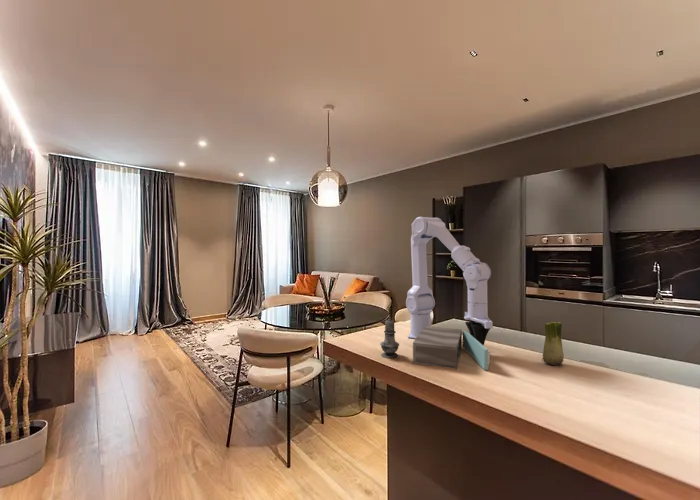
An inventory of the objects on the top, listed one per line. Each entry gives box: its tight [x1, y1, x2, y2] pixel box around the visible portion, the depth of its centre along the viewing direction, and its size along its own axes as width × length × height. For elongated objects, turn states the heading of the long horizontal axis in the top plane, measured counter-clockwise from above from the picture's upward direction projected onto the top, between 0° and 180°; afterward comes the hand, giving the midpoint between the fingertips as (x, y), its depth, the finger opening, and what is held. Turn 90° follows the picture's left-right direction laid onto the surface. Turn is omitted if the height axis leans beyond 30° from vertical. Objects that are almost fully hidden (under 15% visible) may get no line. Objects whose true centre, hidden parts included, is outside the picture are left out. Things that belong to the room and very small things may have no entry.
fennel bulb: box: [542, 321, 565, 366], centre depth 92 cm, size 6×5×12 cm
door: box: [462, 329, 491, 371], centre depth 98 cm, size 20×2×5 cm, turn 177°
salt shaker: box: [379, 316, 400, 360], centre depth 100 cm, size 6×6×12 cm
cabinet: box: [412, 326, 463, 370], centre depth 101 cm, size 20×12×6 cm, turn 157°
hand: (478, 346), depth 101 cm, fingers closed
